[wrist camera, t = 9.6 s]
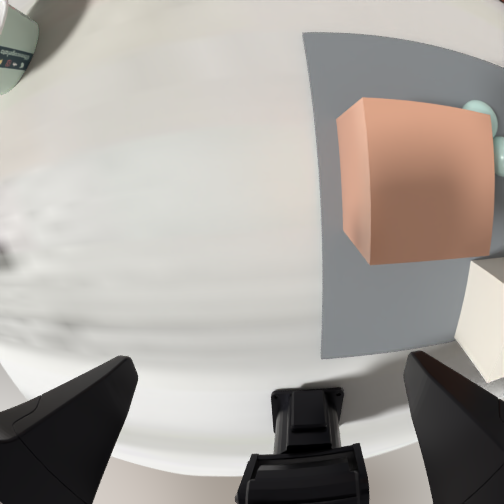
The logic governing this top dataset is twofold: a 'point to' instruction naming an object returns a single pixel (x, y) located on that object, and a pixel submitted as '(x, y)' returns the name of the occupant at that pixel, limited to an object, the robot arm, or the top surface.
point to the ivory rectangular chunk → (484, 318)
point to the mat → (333, 237)
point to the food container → (15, 45)
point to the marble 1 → (483, 108)
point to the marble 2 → (499, 155)
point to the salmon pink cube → (416, 180)
